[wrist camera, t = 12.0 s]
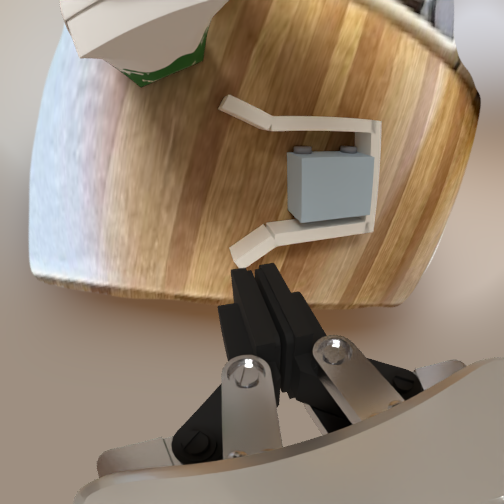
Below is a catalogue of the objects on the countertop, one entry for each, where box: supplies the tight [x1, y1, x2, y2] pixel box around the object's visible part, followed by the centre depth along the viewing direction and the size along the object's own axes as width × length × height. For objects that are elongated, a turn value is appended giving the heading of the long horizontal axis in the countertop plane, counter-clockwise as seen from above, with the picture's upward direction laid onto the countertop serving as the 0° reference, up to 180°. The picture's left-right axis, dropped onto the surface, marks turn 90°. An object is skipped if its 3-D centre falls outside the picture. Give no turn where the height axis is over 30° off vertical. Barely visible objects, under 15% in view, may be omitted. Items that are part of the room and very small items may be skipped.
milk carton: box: [59, 0, 229, 87], centre depth 13 cm, size 9×9×20 cm
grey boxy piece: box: [287, 146, 374, 223], centre depth 31 cm, size 8×9×4 cm
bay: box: [218, 95, 382, 268], centre depth 30 cm, size 19×18×4 cm
